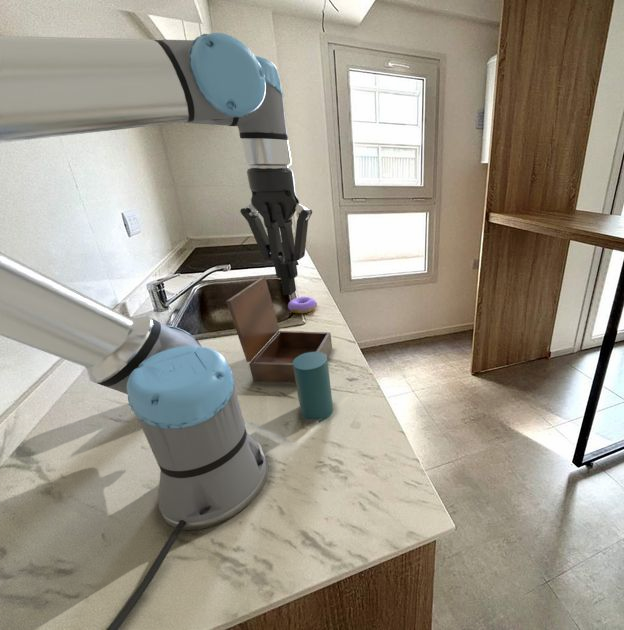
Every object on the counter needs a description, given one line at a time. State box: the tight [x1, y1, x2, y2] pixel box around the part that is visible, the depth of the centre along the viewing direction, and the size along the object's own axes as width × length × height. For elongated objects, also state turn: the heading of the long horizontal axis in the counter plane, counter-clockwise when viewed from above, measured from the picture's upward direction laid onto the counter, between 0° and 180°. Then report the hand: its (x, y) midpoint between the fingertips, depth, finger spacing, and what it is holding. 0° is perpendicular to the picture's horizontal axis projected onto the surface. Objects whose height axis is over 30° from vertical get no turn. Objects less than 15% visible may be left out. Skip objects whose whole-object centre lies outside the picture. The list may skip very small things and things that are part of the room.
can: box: [293, 352, 334, 423], centre depth 68 cm, size 7×7×13 cm
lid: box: [225, 276, 281, 363], centre depth 81 cm, size 15×17×1 cm
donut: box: [287, 296, 318, 314], centre depth 119 cm, size 10×9×5 cm
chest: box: [248, 330, 333, 384], centre depth 86 cm, size 15×17×6 cm
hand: (289, 292), depth 68 cm, fingers closed
